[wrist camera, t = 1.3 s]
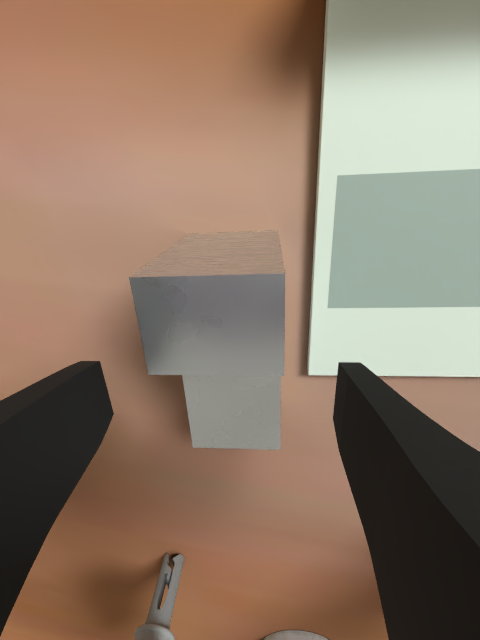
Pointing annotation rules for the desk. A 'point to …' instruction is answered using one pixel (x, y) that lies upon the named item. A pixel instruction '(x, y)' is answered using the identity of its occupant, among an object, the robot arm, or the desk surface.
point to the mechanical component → (155, 632)
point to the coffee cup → (294, 635)
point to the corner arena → (398, 190)
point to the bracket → (219, 333)
